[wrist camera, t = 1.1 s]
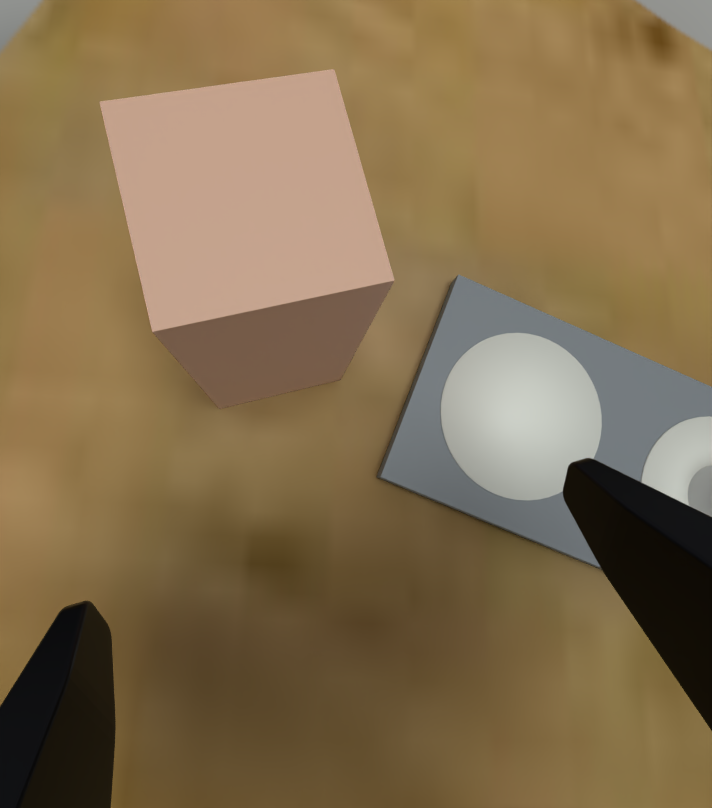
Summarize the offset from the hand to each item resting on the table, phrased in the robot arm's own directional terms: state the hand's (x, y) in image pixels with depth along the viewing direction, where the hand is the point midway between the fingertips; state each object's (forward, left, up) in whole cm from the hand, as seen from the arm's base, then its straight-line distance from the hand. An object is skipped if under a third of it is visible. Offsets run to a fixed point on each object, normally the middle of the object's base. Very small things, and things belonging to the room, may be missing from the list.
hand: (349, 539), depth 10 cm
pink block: (+6, +5, -14) cm, 16 cm away
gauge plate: (+7, -12, -13) cm, 20 cm away
